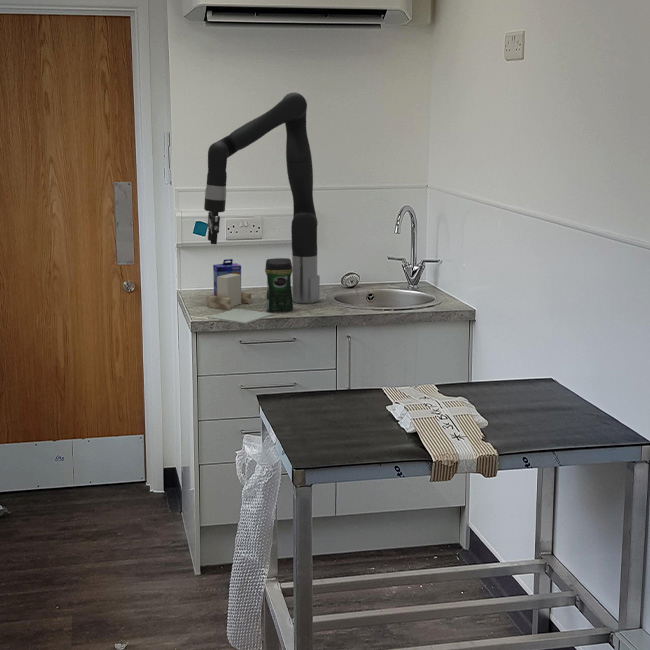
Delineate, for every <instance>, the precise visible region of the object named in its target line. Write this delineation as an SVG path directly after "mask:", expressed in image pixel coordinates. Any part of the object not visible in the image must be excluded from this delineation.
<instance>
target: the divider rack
mask: <svg viewBox="0 0 650 650" xmlns="http://www.w3.org/2000/svg"><path fill="white" fill-rule="evenodd" d="M206 302H207V303H206V306H207V308H211V307H212V308H213V309H220V310H225V309H226V310H227V311H230V310H232V307H231V299H230V298H223V297H215V296H214V295H207V296H206ZM244 303H248V304H247V305H251V304H252V293H251V292H244V291H241V304H244ZM226 310H225V311H226Z"/></svg>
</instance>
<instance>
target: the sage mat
mask: <svg viewBox="0 0 650 650" xmlns="http://www.w3.org/2000/svg"><path fill="white" fill-rule="evenodd" d="M271 315H272V316H274V314H273V313H272V312H271V313H269V312H262V311H256V310H248V309H243V308H242V309H241V308H233V309H231V310H227V311H226V310H225V311H224V312H220V313H217V314H216V313H215V314H213V315H210V316H207V319H209V318H213V319H212V320H215V319H219V320H218V321H224V322H228V323H229V322H230V323H235V324H241V325H242V324H243V325H247V324H250V323H253V322H255V321H260V320H262V319H266V318H268V317H267V316H269V317H272V316H271ZM265 317H266V318H265Z"/></svg>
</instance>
